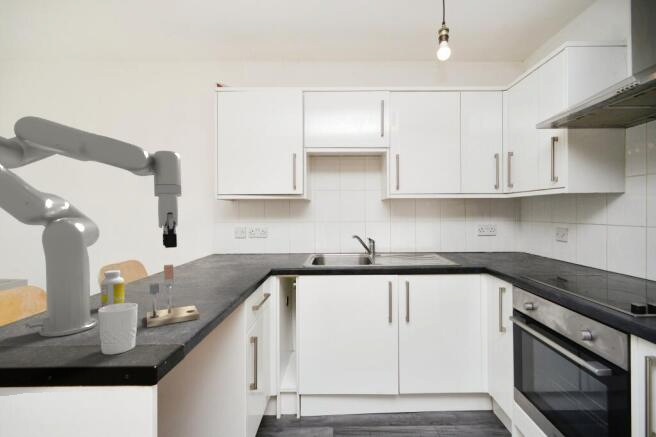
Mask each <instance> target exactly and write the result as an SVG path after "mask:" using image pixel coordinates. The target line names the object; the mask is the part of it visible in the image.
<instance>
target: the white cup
mask: <svg viewBox="0 0 656 437" xmlns="http://www.w3.org/2000/svg"><path fill="white" fill-rule="evenodd" d="M138 307H139V304H138V303H135V302H124V303H119V304H113V305H108V306H105V307H102V306H101V307H100V308H99V309H97V313H98V329H99V340H100V346H101V347H100V348H101V353H102V354H104V355H116V354H117V355H118V354H122V353H125V352H128V351H130V350H133V349H134V348H135V347H136V338H137V330H138V329H137V328H138V310H139V308H138Z"/></svg>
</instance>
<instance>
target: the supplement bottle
mask: <svg viewBox="0 0 656 437" xmlns="http://www.w3.org/2000/svg"><path fill="white" fill-rule="evenodd" d="M103 273H104V274H103V275H104V278H103V279H102V280H101V282H100V291H101V292H100V293H101V294H100V297H101V299H100V300H101V302H100V303H101V308H102V307H105V306H108V305H113V304H119V303H125V279H124V278H123V277H121V270H120V269H118V270H107V271H104V272H103Z"/></svg>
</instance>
